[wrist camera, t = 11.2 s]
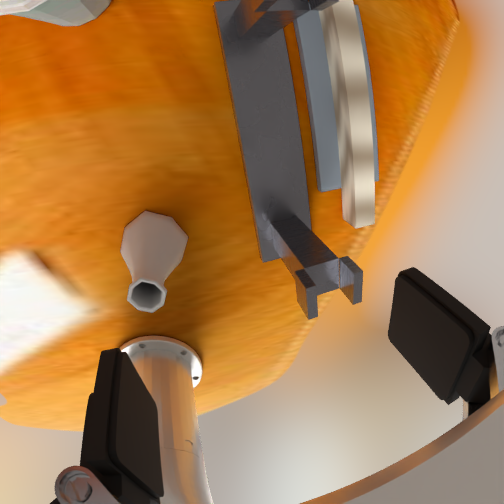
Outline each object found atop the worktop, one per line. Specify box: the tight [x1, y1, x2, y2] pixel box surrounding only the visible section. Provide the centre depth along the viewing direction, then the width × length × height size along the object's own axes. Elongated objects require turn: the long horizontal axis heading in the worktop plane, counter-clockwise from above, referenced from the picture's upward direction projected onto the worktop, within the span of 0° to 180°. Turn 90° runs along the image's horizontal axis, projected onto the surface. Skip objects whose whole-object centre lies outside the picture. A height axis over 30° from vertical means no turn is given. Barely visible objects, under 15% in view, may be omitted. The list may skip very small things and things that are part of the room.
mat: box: [293, 2, 379, 192], centre depth 28 cm, size 21×8×1 cm, turn 10°
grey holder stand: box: [213, 0, 363, 320], centre depth 23 cm, size 28×6×14 cm, turn 10°
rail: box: [319, 0, 375, 228], centre depth 27 cm, size 28×2×3 cm, turn 10°
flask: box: [120, 211, 188, 313], centre depth 27 cm, size 7×7×10 cm
